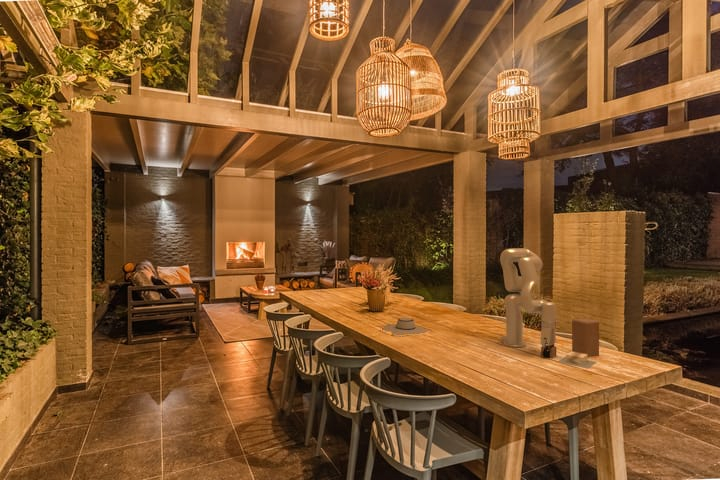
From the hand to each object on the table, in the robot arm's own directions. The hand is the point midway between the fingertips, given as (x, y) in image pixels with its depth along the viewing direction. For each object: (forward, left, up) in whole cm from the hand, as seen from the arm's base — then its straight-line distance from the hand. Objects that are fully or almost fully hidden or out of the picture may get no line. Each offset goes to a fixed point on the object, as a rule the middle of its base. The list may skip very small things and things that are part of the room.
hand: (548, 356), depth 221 cm
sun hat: (-98, -5, -1) cm, 98 cm away
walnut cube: (0, 0, -1) cm, 1 cm away
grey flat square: (+14, 0, -1) cm, 15 cm away
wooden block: (+13, +19, -1) cm, 23 cm away
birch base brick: (+14, 0, 0) cm, 15 cm away
